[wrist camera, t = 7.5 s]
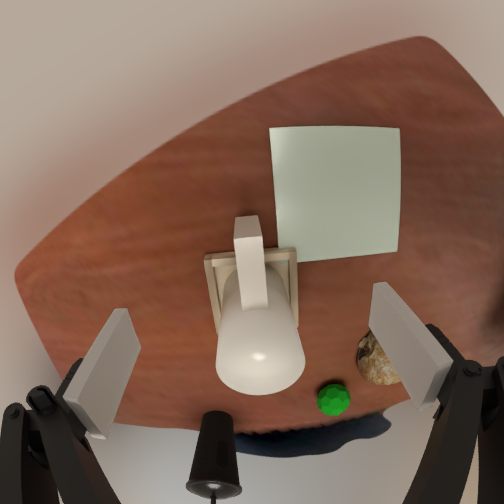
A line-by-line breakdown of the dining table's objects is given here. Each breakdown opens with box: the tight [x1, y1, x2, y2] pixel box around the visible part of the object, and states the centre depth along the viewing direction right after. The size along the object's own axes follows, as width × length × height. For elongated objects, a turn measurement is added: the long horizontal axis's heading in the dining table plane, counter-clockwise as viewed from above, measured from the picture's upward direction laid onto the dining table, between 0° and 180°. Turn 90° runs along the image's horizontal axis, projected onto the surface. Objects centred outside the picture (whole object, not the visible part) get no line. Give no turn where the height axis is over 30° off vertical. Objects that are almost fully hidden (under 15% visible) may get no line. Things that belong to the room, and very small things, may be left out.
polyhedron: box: [317, 384, 351, 415], centre depth 37 cm, size 5×5×5 cm
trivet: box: [269, 126, 401, 264], centre depth 29 cm, size 14×14×1 cm
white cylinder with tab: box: [216, 215, 305, 395], centre depth 25 cm, size 13×7×12 cm, turn 5°
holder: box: [204, 247, 298, 335], centre depth 32 cm, size 9×9×2 cm
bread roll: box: [357, 331, 401, 385], centre depth 35 cm, size 10×10×8 cm
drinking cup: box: [186, 411, 242, 504], centre depth 32 cm, size 8×8×20 cm
